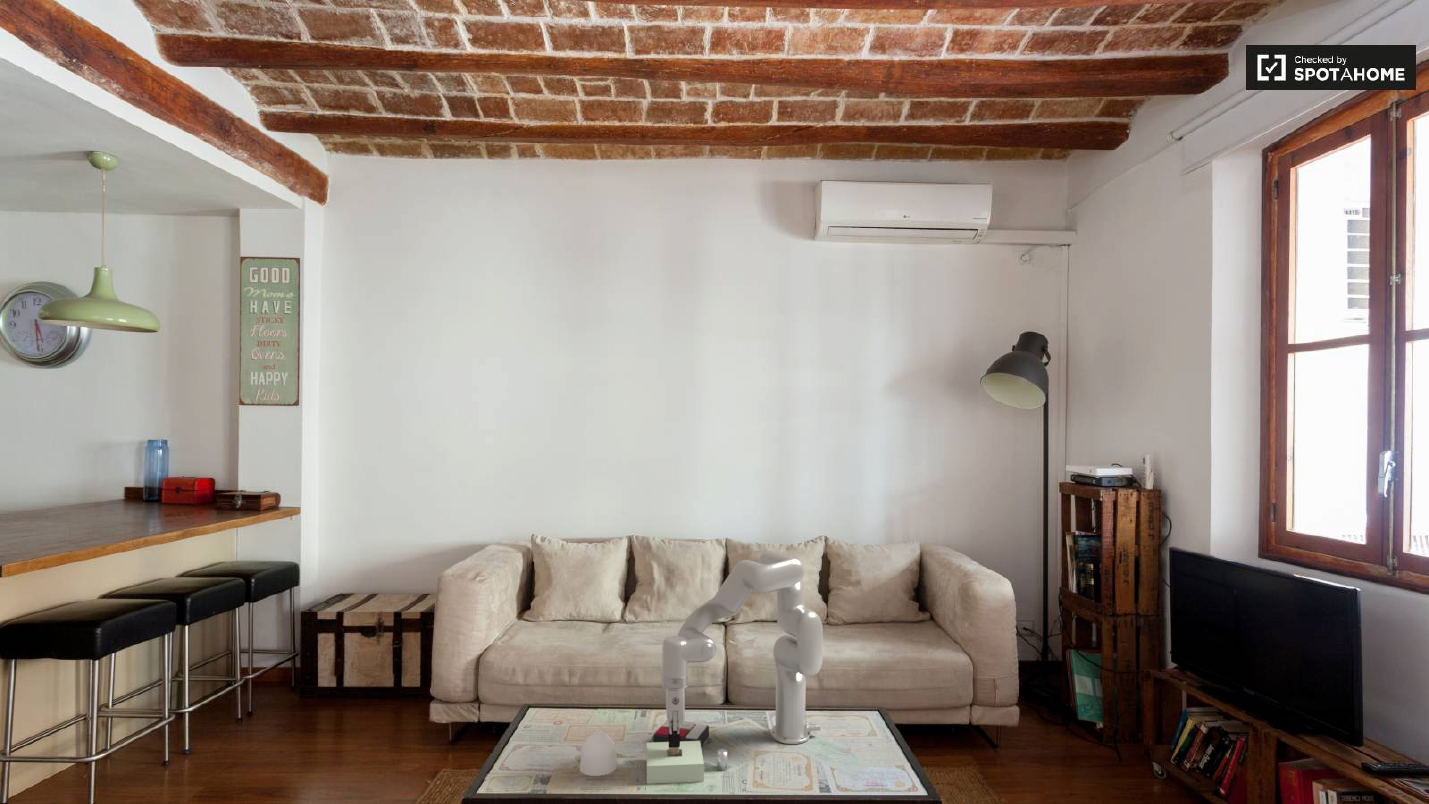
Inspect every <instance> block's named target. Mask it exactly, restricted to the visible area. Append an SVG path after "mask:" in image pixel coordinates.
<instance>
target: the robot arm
mask: <svg viewBox="0 0 1429 804" xmlns="http://www.w3.org/2000/svg"><path fill="white" fill-rule="evenodd" d="M804 574H805V567H804V563H802V562H801V561H800V559H798V558H797V557H794V556H790V555H787V554H784V553H781V552H778V551H775V550H773V551H772V550H767V551H764V552H763V553H761V555H760V556H759V560H758V562H756V561H753V560H749V559H743V560H740V561H738V562H737V563H736V564H735V565H734V567H733V568H732V570H731V571H730V573H729V574H728V575H727V578H725V580H724V582H723V583H722V585H721V586H720V588H719V589H718V591H717V592H716V593H715V595H714V596H713V597H711V599H708V601H706V602H704V603H703V604H701V605H700V606H698V607H697V608H696V609H695V610H693V612H692V613H690V614H689V616H688V617H687V619H686V620H685V621H684V622H683V624H682V626H681V628H680V629H679V630H678V633H677V635H671V636H668V637H665V638H664V639H663V641H662V659H661V660H662V663H661V664H662V665H661V666H662V667H661V674H662V675H661V687H662V688H663V689H664V690H665V708H666V709H665V710H666V719H667V720H668V724H669V725H670V733H669V727H668V741H669V748H675V747H680V733H679V725H680V724H682V725H683V724H684V723H685V722H686V721H685V715H686V714H685V710H686V708H685V706H686V705H685V695H686V694H685V689H687V688H688V686H689V663H705V662H709V661H711V660H712V659H713V658H714V656H716V653H717V645H716V643H715V641H714V640H713V639H712V638H711V637H710V636H708V635H706V634H704V632H705V630H706V629H707V628H708V627H709V626H710V625H711V624H712V623H714V622H716V621H718V620H721V619H726V618H729V617H733V616H735V615H737V614H738V612H739V611H740V610H741V608H742V607H743V605H744V604H745V602H746V600H747V599H748V598H749V596H750V595H751V593H752V592H754V593H757V594H760V595H761V594H769V593H773V592H776V619H777V626H778V628H779V629H780V630H781V631H782V632H783V633H786V634H787V635H786V634H785V635H782V636H780V637H778V639H776V641H775V643H774V644H773V650H772V655H773V662H774V668H775V725H774V726H773V727H772V728H771V729H770V736H771V738H772V739H773V740H775V741H776V742H778V743H781V744H784V745H785V744H786V745H799V744H800V745H801V744H803V743H805V742H807V741H808V740H810V737H811V731H812V732H813V731H814V732H819V731H821V725H820V723H817V724H815V722H814V721H809V722H808V721H807V720H806V700H807V699H806V695H807V694H806V688H807V686H806V685H807V683H806V677H814V676H816V675H817V674H818V672H820V670H821V668H822V664H823V659H824V658H823V657H824V654H823V653H824V636H823V635H824V633H823V631H824V630H823V622H822V620H821V617H820V616H819V614H817V612H815V611H814V610H813V609H810V608H807V607H806V606H805V602H804V589H803V584H802V579H803V577H804ZM667 720H666V721H667ZM671 721H673V722H671ZM677 721H678V722H677ZM679 722H680V723H679ZM677 725H678V726H677ZM672 726H673V727H672Z"/></svg>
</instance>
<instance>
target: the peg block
mask: <svg viewBox="0 0 1429 804" xmlns="http://www.w3.org/2000/svg"><path fill="white" fill-rule="evenodd" d="M704 771H705V762H704V757H703V750H702V747H701V743H700V741H681V742H680V747H679V755H678V756H676V757H671V756H669V742H646V784H647V785H650V784H651V785H652V784H655V785H656V784H675V783H676V784H679V783H702V782H703V783H704V782H705V772H704Z"/></svg>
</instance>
